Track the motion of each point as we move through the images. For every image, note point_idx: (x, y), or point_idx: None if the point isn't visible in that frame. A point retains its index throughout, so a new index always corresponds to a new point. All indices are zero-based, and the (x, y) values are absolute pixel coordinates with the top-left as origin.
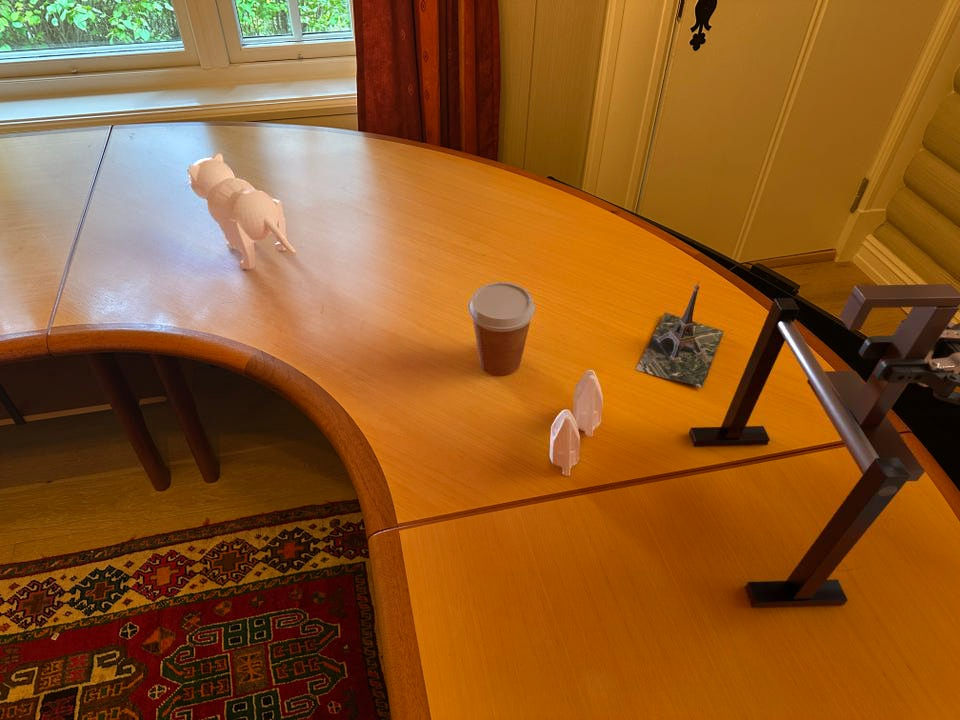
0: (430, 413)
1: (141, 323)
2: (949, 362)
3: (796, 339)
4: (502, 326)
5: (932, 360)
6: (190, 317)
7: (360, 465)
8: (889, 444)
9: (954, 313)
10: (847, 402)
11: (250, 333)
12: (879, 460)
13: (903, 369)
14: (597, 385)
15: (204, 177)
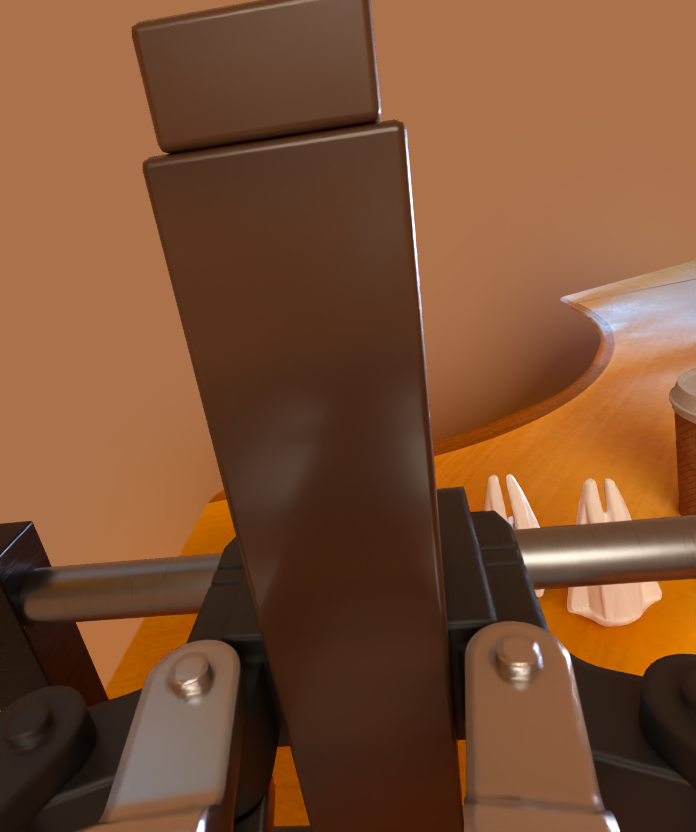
0: (562, 465)
1: (605, 321)
2: (164, 786)
3: (618, 522)
4: (677, 401)
5: (227, 672)
6: (631, 332)
7: (465, 436)
8: None
9: (161, 225)
10: None
11: (629, 356)
12: (18, 523)
13: (237, 560)
14: (590, 506)
15: None
